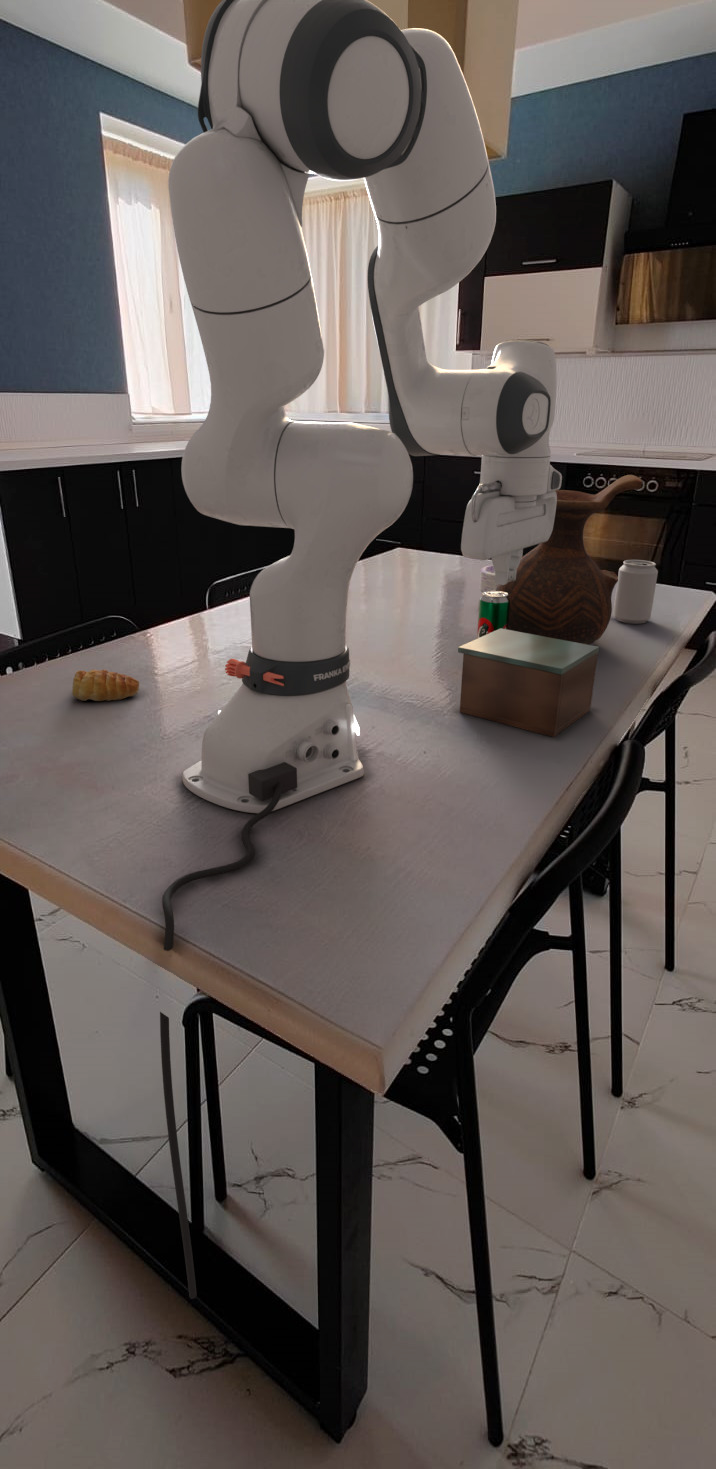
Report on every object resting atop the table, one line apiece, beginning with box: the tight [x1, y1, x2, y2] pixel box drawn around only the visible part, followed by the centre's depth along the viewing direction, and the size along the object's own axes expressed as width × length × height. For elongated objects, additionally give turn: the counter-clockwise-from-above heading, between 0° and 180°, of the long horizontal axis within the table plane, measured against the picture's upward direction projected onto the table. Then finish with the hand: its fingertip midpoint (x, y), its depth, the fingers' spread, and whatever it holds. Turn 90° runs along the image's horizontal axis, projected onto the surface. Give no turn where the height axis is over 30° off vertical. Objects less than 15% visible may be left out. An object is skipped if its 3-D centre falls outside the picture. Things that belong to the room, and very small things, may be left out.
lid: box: [457, 628, 600, 675], centre depth 108 cm, size 16×13×1 cm
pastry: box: [71, 669, 140, 702], centre depth 115 cm, size 9×7×4 cm
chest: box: [459, 652, 599, 738], centre depth 110 cm, size 15×13×9 cm
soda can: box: [476, 591, 510, 639], centre depth 130 cm, size 5×5×12 cm
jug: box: [495, 474, 643, 645], centre depth 137 cm, size 22×22×30 cm
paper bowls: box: [479, 564, 498, 594], centre depth 169 cm, size 15×15×8 cm
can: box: [612, 559, 659, 625], centre depth 157 cm, size 8×8×12 cm
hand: (505, 582), depth 107 cm, fingers closed
